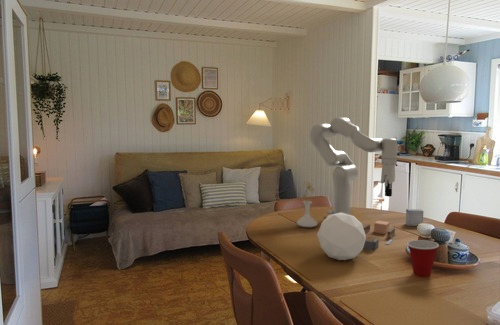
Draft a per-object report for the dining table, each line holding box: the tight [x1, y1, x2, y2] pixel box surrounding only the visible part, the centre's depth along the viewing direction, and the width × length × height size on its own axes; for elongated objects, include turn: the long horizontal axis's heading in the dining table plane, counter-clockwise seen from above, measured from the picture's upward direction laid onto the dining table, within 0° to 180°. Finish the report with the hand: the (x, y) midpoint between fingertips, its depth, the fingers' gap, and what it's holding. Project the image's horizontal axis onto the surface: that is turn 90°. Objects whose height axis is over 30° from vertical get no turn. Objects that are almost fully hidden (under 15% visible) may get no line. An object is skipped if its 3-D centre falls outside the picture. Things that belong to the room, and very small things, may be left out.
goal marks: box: [385, 238, 394, 246], centre depth 181 cm, size 17×8×1 cm, turn 55°
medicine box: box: [405, 208, 425, 227], centre depth 205 cm, size 8×4×9 cm, turn 84°
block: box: [373, 220, 390, 235], centre depth 193 cm, size 6×6×5 cm
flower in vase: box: [296, 180, 318, 228], centre depth 204 cm, size 13×11×25 cm
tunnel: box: [363, 223, 396, 240], centre depth 188 cm, size 14×8×4 cm, turn 55°
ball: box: [316, 212, 367, 261], centre depth 155 cm, size 19×20×20 cm
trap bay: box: [363, 238, 380, 252], centre depth 170 cm, size 12×6×4 cm, turn 55°
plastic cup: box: [406, 239, 440, 278], centre depth 139 cm, size 11×11×12 cm
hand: (388, 195), depth 199 cm, fingers closed
